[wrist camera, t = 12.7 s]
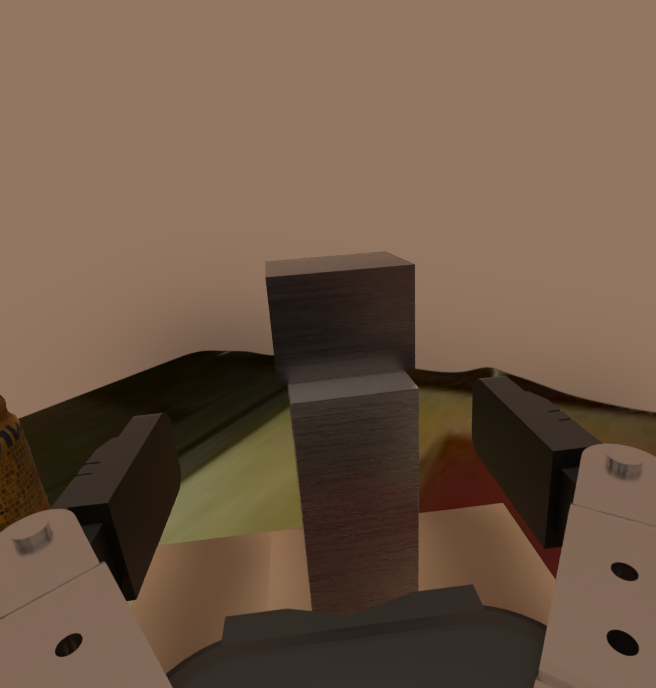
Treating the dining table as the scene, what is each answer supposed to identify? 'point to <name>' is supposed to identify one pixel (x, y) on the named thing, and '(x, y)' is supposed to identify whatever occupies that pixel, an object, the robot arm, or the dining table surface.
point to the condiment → (17, 473)
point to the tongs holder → (292, 583)
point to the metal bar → (351, 421)
